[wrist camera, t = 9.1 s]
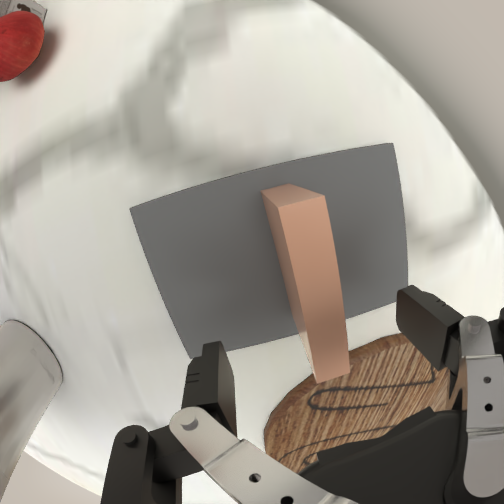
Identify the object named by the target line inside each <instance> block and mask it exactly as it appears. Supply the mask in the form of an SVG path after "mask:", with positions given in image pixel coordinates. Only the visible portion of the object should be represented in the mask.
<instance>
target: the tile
mask: <svg viewBox="0 0 504 504" xmlns="http://www.w3.org/2000/svg"><path fill="white" fill-rule="evenodd" d="M261 195H262V199H263V203H264V206H265V210H266V214H267V217H268V221H269V225H270V229H271V233H272V237H273V240H274V244H275V248H276V252H277V256H278V260H279V264H280V268H281V272H282V276H283V280H284V284H285V288H286V292H287V296H288V300H289V304H290V308H291V312H292V316H293V319H294V322H295V324H296V327H297V330H298V333H299V335H300V338H301V341H302V344H303V346H304V349H305V352H306V355H307V357H308V360H309V363H310V366H311V368H312V371H313V374H314V377H315V380H316V382H317V384H318V383H321V382H324V381H327V380H330V379H333V378H336V377H339V376H342V375H345V374H348V373H350V364H349V352H348V341H347V331H346V322H345V313H344V305H343V298H342V290H341V283H340V277H339V270H338V264H337V258H336V252H335V246H334V241H333V235H332V230H331V225H330V219H329V214H328V210H327V205H326V200H325V195H322V194H319V193H316V192H313V191H310V190H307V189H304V188H301V187H298V186H295V185H292V184H289V183H288V184H284V185H280V186H277V187H273V188H269V189H265V190H261Z"/></svg>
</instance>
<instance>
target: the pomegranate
mask: <svg viewBox="0 0 504 504" xmlns="http://www.w3.org/2000/svg"><path fill="white" fill-rule="evenodd" d="M44 33H45V31H44V27H43V24H42V21H41V18H39V17H38V16H37V15H36V14H34V13H31V12H27V11H15V12H11V13H9V14H7V15H4V16H2V17H0V82H3V81H8V80H11V79H13V78H15V77H17V76H18V75H19V74H21V73H22V72H23V71H25V70H26V69H27V68H28V67H29V66H30V65H31V64H32V62H33V61H34V60H35V59H36V58H37V57H38V55H39V53H40V49H41V47H42V44H43V39H44Z"/></svg>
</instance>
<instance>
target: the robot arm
mask: <svg viewBox="0 0 504 504" xmlns="http://www.w3.org/2000/svg"><path fill="white" fill-rule="evenodd" d="M396 322H397V326H398V328H399V330H400V331H401V332H402V333H403V334H404V335H405V336H406V338H407V339H408V340H409V341H410V342H411V343H412V344H413V345H414V346H415V347H416V348H417V349H418V350H419V351H420V352H421V353H422V355H423V356H424V357H425V358H426V359H427V360H428V361H429V362H430V363H431V364H432V365H433V367H434V368H435V369H436V370H437V371H438V372H439V371H440V370H442V369H444V368H446V367H448V368H449V371H448V380H447V397H446V407H445V410H442V411H437V412H434V411H433V409H432V408H431V407H430V406H428V407H427V408H425V409H423V410H421V411H419V412H417V413H415V414H413V415H411V416H409V417H407V418H405V419H404V420H403V421H402V422H400V423H399V424H398V425H396V426H395V427H394V428H392V429H391V430H390V431H388V432H387V433H386V434H384V435H383V436H381V437H378V438H373V439H368V440H362V441H356V442H349V443H345V444H342V445H339V446H336V447H333V448H330V449H326V450H323V451H320V452H316V454H317V461H315V462H313V463H311V464H310V465H308V466H306V467H305V468H304V469H302V470H301V471H300V472H299V473H298V474H296V473H294V472H293V471H291V470H290V469H288V468H286V467H285V466H283V465H282V464H280V463H279V462H277V461H276V460H274V459H273V458H271V457H270V456H269V455H267V454H266V453H264V452H263V451H261V450H260V449H259V448H257V447H256V446H255V445H253V444H252V443H250V442H249V441H247V440H245V439H242V440H239V439H238V438H237V425H236V407H235V387H234V376H233V371H232V368H231V365H230V363H229V360H228V357H227V355H226V352H225V349H224V347H223V344H222V342H221V341H216V342H211V343H206V344H203V348H202V356H199V357H194V358H193V360H192V361H191V363H190V364H189V365H188V369H187V376H186V381H185V382H186V384H185V388H184V394H183V400H182V407H181V410H180V411H178V412H177V413H175V414H174V415H173V417H172V418H171V420H170V423H169V425H167V426H165V427H162V428H159V429H156V430H153V431H150V432H148V431H147V430H146V429H145V428H144V427H142V426H139V425H131V426H127V427H125V428H123V429H122V430H120V431H119V432H118V434H117V435H116V437H115V439H114V443H113V447H112V451H111V455H110V459H109V464H108V468H107V473H106V478H105V482H104V487H103V493H102V498H101V504H182V477H185V476H188V475H191V474H194V473H197V472H200V471H203V470H204V471H205V472H206V474H207V475H208V476H209V477H210V478H211V479H212V480H213V481H215V482H216V483H217V484H218V485H219V486H220V487H221V488H222V489H223V490H224V491H225V492H226V493H227V494H228V495H229V496H231V497H232V498H233V499H234V500H235V501H236V502H237V503H238V504H504V307H503V308H502V309H501V311H500V315H499V319H496V320H493V321H489V322H487V321H486V320H485V319H484V318H482V317H479V316H468V317H464V316H462V315H461V314H460V313H458V312H457V311H456V310H454V309H453V308H452V307H450V306H449V305H446V303H445V302H443V301H441V300H440V299H439V298H438V297H436V296H435V295H434V294H431V293H428V292H424V291H423V292H422V291H421V290H420V289H418V288H417V287H415V286H414V285H410V286H408V287H405V288H402V289H400V290H398V291H397V302H396ZM61 384H62V372H61V369H60V366H59V364H58V362H57V360H56V358H55V356H54V355H53V353H52V352H51V350H50V349H49V347H48V346H47V345H46V344H45V343H44V342H43V340H42V339H41V338H40V337H39V336H38V335H37V334H36V333H35V332H33V331H32V330H31V329H30V328H28V327H27V326H25V325H24V324H22V323H20V322H17V321H13V320H9V321H6V322H5V323H4V324H3V325H2V326H0V502H1V499H2V496H3V494H4V492H5V489H6V487H7V484H8V482H9V480H10V477H11V475H12V473H13V471H14V469H15V466H16V464H17V462H18V460H19V458H20V456H21V454H22V452H23V450H24V448H25V446H26V445H27V443H28V441H29V439H30V437H31V435H32V433H33V431H34V430H35V428H36V426H37V424H38V423H39V421H40V419H41V417H42V416H43V414H44V412H45V410H46V409H47V407H48V405H49V404H50V402H51V400H52V399H53V397H54V396H55V394H56V392H57V391H58V389H59V387H60V386H61Z"/></svg>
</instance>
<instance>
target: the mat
mask: <svg viewBox="0 0 504 504" xmlns="http://www.w3.org/2000/svg"><path fill="white" fill-rule="evenodd" d="M288 183H289V184H292V185H295V186H298V187H301V188H304V189H307V190H310V191H313V192H316V193H319V194H322V195H325V200H326V205H327V210H328V214H329V219H330V225H331V230H332V235H333V241H334V246H335V252H336V258H337V264H338V270H339V277H340V283H341V290H342V298H343V305H344V313H345V319H348V318H351V317H354V316H357V315H360V314H363V313H366V312H369V311H371V310H374V309H377V308H380V307H382V306H385V305H388V304H390V303H393V302H396V301H397V291H398V290H400V289H402V288H405V287H408V260H407V240H406V227H405V216H404V207H403V199H402V191H401V184H400V178H399V171H398V166H397V160H396V155H395V150H394V145H393V143H387V144H380V145H374V146H367V147H361V148H355V149H349V150H343V151H338V152H333V153H327V154H322V155H317V156H312V157H307V158H303V159H298V160H294V161H289V162H285V163H280V164H276V165H272V166H268V167H264V168H260V169H256V170H252V171H248V172H244V173H240V174H237V175H233V176H229V177H226V178H222V179H219V180H215V181H212V182H208V183H205V184H201V185H198V186H195V187H191V188H188V189H185V190H182V191H179V192H176V193H172V194H169V195H166V196H163V197H160V198H157V199H154V200H152V201H149V202H146V203H143V204H140V205H137V206H134V207H132V208H130V212H131V215H132V218H133V221H134V224H135V227H136V230H137V233H138V236H139V239H140V242H141V245H142V247H143V250H144V253H145V256H146V258H147V261H148V264H149V266H150V269H151V271H152V274H153V276H154V279H155V282H156V284H157V286H158V289H159V291H160V294H161V296H162V299H163V301H164V303H165V306H166V308H167V310H168V312H169V315H170V317H171V319H172V321H173V324H174V326H175V328H176V330H177V332H178V335H179V337H180V339H181V341H182V343H183V345H184V347H185V349H186V351H187V353H188V355H189V357H190V359H191V358H194V357H199V356H202V348H203V344H206V343H211V342H216V341H221V342H222V344H223V347H224V349H225V352H227V351H232V350H236V349H241V348H245V347H249V346H253V345H258V344H262V343H266V342H270V341H274V340H277V339H281V338H285V337H289V336H292V335H296V334H299V333H298V330H297V327H296V324H295V322H294V319H293V316H292V312H291V308H290V304H289V300H288V296H287V292H286V288H285V284H284V280H283V276H282V272H281V268H280V264H279V260H278V256H277V252H276V248H275V244H274V240H273V237H272V233H271V229H270V225H269V221H268V217H267V214H266V210H265V206H264V203H263V199H262V195H261V190H265V189H269V188H273V187H277V186H280V185H284V184H288Z"/></svg>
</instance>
